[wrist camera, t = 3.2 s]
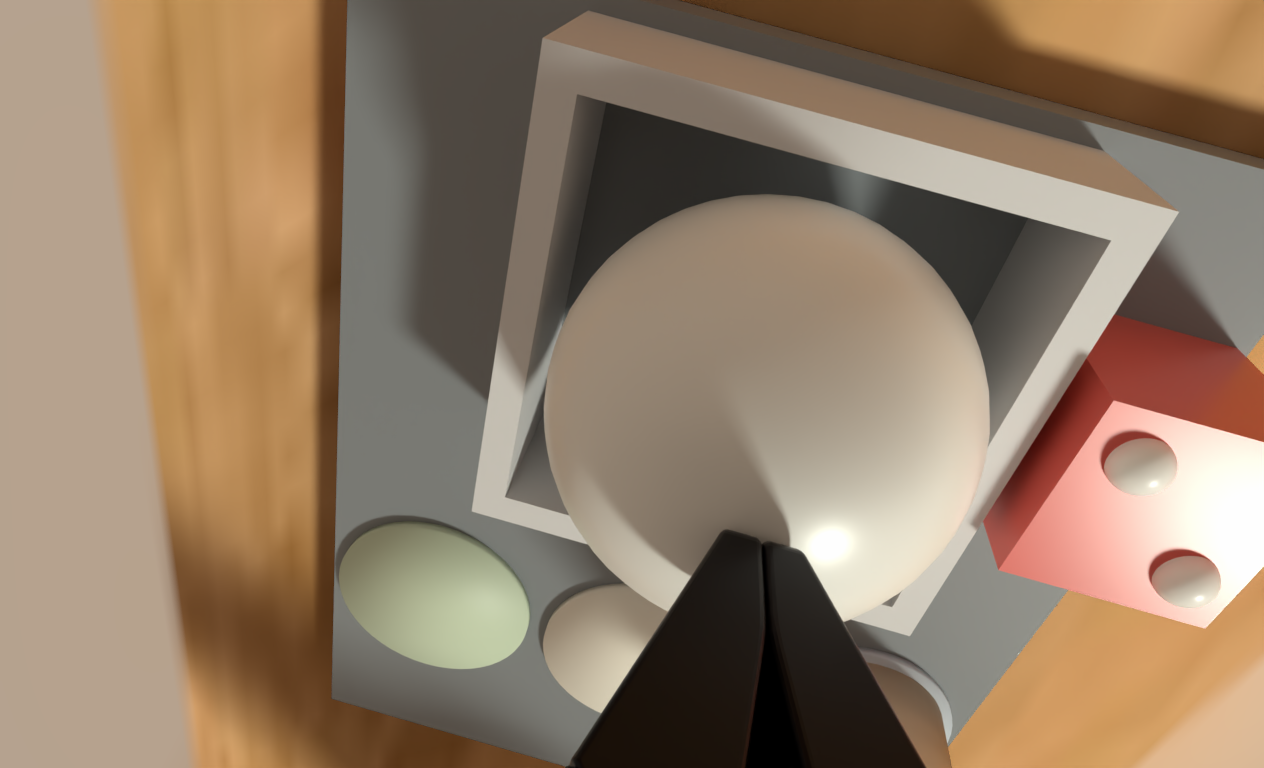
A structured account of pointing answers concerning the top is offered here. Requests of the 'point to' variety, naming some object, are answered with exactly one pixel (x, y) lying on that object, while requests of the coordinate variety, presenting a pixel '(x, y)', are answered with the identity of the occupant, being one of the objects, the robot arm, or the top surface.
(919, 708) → the pawn
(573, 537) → the game board
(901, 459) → the white ball
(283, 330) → the top surface
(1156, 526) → the red die
